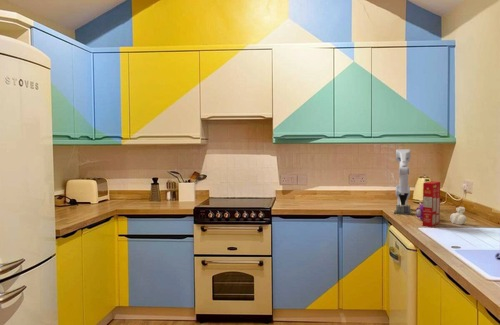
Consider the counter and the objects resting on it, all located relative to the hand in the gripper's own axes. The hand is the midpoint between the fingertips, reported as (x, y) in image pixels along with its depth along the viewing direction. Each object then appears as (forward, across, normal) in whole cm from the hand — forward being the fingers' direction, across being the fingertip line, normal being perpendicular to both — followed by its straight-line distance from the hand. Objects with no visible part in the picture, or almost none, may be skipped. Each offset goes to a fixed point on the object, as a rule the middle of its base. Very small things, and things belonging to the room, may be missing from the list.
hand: (403, 204), depth 299 cm
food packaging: (+6, +36, +19) cm, 41 cm away
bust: (+6, +26, +34) cm, 43 cm away
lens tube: (+6, 0, 0) cm, 6 cm away
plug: (+3, 0, 0) cm, 3 cm away
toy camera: (+6, +20, +16) cm, 26 cm away
